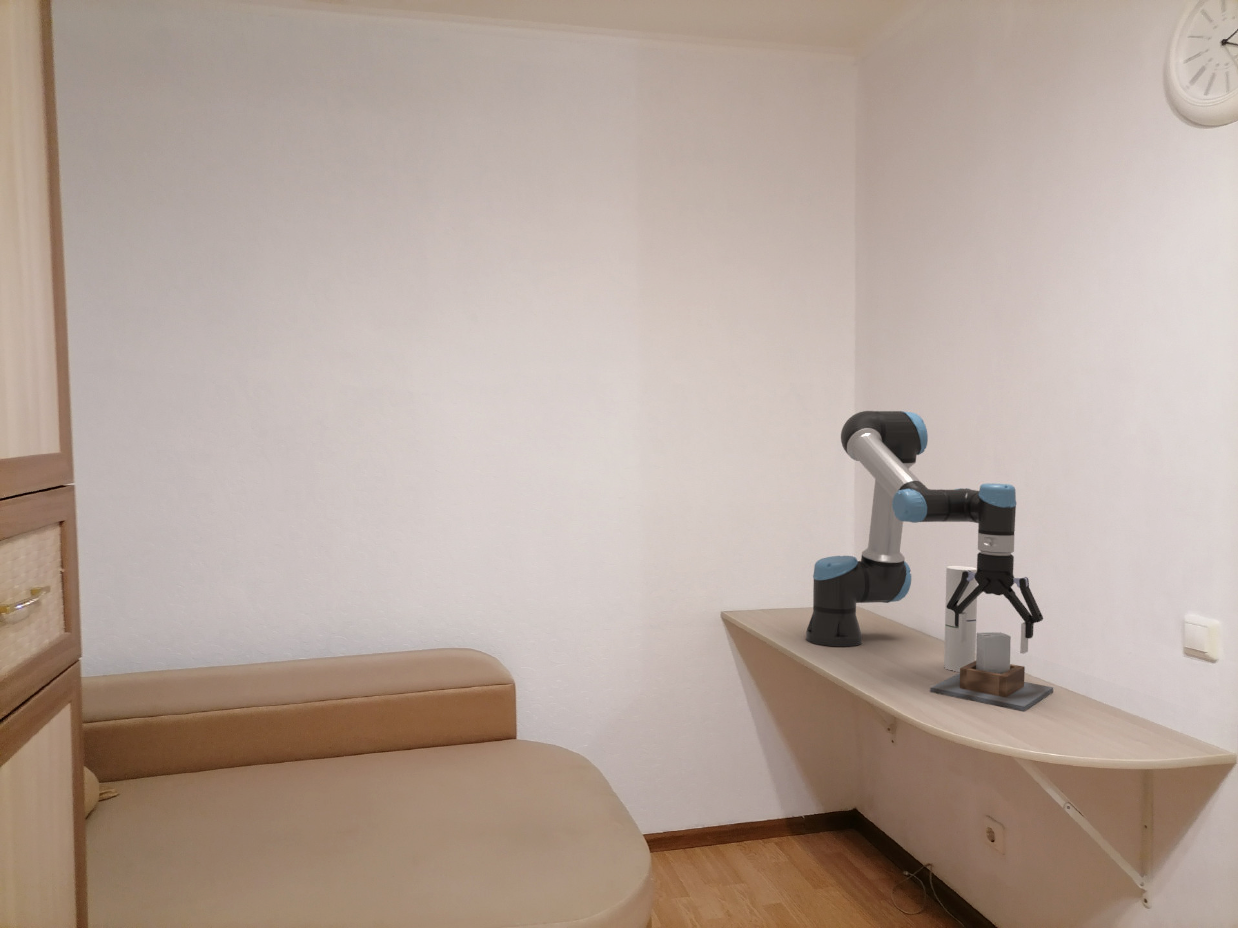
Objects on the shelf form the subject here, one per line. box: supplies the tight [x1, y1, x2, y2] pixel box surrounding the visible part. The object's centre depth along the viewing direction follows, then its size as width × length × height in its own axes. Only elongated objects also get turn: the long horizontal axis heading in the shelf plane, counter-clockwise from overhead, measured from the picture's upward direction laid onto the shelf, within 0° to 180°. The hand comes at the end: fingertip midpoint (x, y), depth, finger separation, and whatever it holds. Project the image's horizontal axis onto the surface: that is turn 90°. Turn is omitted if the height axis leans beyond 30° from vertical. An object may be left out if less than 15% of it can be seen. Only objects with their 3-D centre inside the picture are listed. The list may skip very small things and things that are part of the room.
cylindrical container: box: [943, 565, 978, 673], centre depth 217 cm, size 7×7×25 cm
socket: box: [929, 660, 1054, 712], centre depth 198 cm, size 20×20×6 cm
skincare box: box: [975, 631, 1011, 674], centre depth 198 cm, size 6×4×12 cm
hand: (992, 646), depth 198 cm, fingers open, 13 cm apart
